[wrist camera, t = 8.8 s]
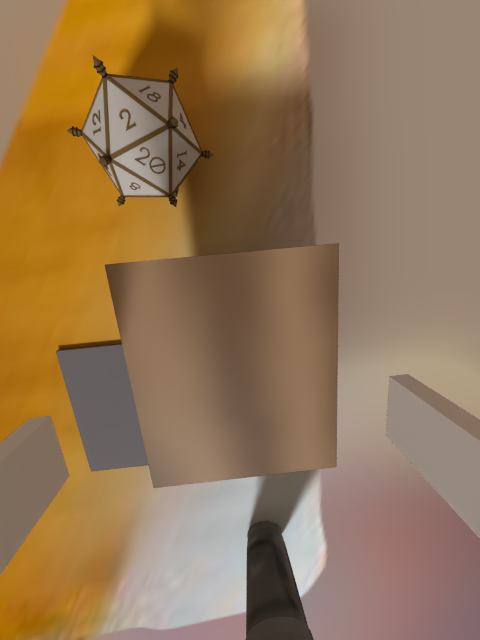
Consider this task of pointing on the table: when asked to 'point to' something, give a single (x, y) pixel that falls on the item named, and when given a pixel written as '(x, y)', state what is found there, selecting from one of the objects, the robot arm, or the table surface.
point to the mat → (103, 406)
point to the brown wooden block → (232, 361)
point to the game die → (140, 135)
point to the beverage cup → (272, 588)
